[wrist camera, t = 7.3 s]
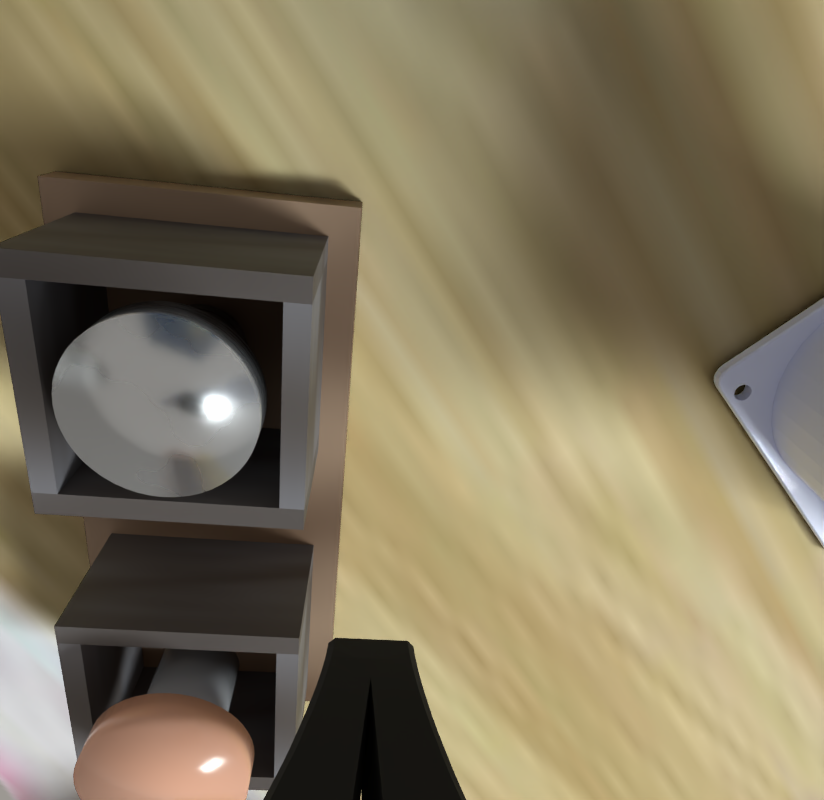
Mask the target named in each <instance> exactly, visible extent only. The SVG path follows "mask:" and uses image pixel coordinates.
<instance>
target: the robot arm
mask: <svg viewBox="0 0 824 800" xmlns="http://www.w3.org/2000/svg"><path fill="white" fill-rule="evenodd" d="M714 383H715V386H716V388H717V389H718V391H719V392H720V394H721V395H722V397H723V398H724V400H725V401H726V403H727V404H728V406H729V407H730V409H731V410H732V412H733V413H734V415H735V416H736V418H737V419H738V421H739V422H740V424H741V425H742V427H743V428H744V429H745V431H746V432H747V434H748V435H749V437H750V438H751V440H752V441H753V443H754V444H755V446H756V447H757V449H758V450H759V452H760V453H761V455H762V456H763V458H764V459H765V461H766V462H767V464H768V465H769V467H770V468H771V470H772V471H773V473H774V474H775V476H776V477H777V479H778V480H779V482H780V483H781V485H782V486H783V488H784V489H785V491H786V492H787V494H788V495H789V497H790V498H791V500H792V501H793V503H794V504H795V506H796V507H797V509H798V510H799V512H800V513H801V515H802V516H803V518H804V519H805V521H806V522H807V524H808V525H809V527H810V528H811V530H812V531H813V533H814V534H815V536H816V537H817V539H818V540H819V542H820V543H821V545H822V546H823V548H824V298H822V299H821V300H819V301H818V302H816V303H815V304H813V305H812V306H810V307H809V308H807V309H806V310H804V311H803V312H801V313H800V314H798V315H797V316H795V317H794V318H792V319H791V320H789V321H788V322H786V323H785V324H783V325H782V326H780V327H779V328H777V329H776V330H774V331H773V332H771V333H770V334H768V335H767V336H765V337H764V338H762V339H761V340H759V341H758V342H756V343H755V344H753V345H752V346H750V347H749V348H747V349H746V350H744V351H743V352H741V353H740V354H738V355H737V356H735V357H734V358H732V359H731V360H729V361H728V362H726V363H725V364H723V365H722V366H721V367H720V368H719V369H718V370H717V371H716V373H715V375H714ZM742 385H745V388H744V390H743V391H742V392H741V393H740V394H738V395H734V393H735V390H736V389H737V388H738V387H739V386H742ZM361 790H362V800H466V798H465V796H464V794H463V792H462V790H461V787H460V785H459V783H458V780H457V778H456V776H455V773H454V771H453V769H452V766H451V764H450V761H449V759H448V756H447V754H446V751H445V749H444V746H443V744H442V741H441V739H440V736H439V734H438V731H437V728H436V726H435V723H434V720H433V717H432V714H431V711H430V708H429V705H428V702H427V699H426V696H425V693H424V690H423V686H422V683H421V679H420V676H419V672H418V668H417V663H416V659H415V654H414V648H413V646H412V645H411V644H410V643H409V642H408V641H394V640H371V639H348V638H335V639H333V640H332V641H330V642H329V643H328V647H327V652H326V657H325V660H324V664H323V667H322V670H321V674H320V677H319V680H318V682H317V685H316V688H315V691H314V693H313V696H312V698H311V701H310V703H309V706H308V708H307V711H306V713H305V715H304V718H303V720H302V722H301V724H300V727H299V729H298V731H297V733H296V735H295V738H294V740H293V742H292V744H291V747H290V749H289V751H288V753H287V755H286V757H285V759H284V761H283V763H282V765H281V767H280V769H279V771H278V773H277V775H276V777H275V779H274V781H273V782H272V784H271V786H270V788H269V790H268V792H267V794H266V796H265V798H264V800H360V796H361Z"/></svg>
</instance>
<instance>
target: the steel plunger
mask: <svg viewBox="0 0 824 800" xmlns="http://www.w3.org/2000/svg"><path fill="white" fill-rule="evenodd" d="M52 405H53V409H54V414H55V418H56V420H57V423H58V426H59V428H60V430H61V432H62V434H63V436H64V438H65V440H66V441H67V443H68V444H69V445H70V447H71V448H72V450H73V451H74V452H75V453H76V454H77V455H78V457H79V458H80V459H81V460H82V461H83V462H84V463H85V464H86V465H88V466H89V467H90V468H91V469H92V470H94V471H95V472H96V473H98V474H99V475H100V476H102V477H104V478H105V479H107V480H109V481H110V482H112V483H114V484H116V485H119V486H121V487H123V488H125V489H128V490H131V491H134V492H137V493H141V494H146V495H150V496H158V497H184V496H191V495H195V494H200V493H203V492H206V491H209V490H212V489H214V488H216V487H218V486H220V485H222V484H223V483H225V482H226V481H228V480H229V479H231V478H232V477H233V476H234V475H235V474H236V473H237V472H239V471H240V470H241V468H242V467H243V466H244V465H245V463H246V462H247V461H248V459H249V457H250V456H251V454H252V452H253V450H254V447H255V445H256V443H257V440H258V437H259V434H260V431H261V429H262V426H263V423H264V420H265V416H266V411H267V388H266V383H265V378H264V375H263V372H262V370H261V367H260V365H259V363H258V361H257V359H256V357H255V355H254V354H253V352H252V351H251V349H250V348H249V346H248V343H247V339H246V336H245V334H244V332H243V330H242V328H241V327H240V325H239V324H238V323H237V321H236V320H235V319H234V318H233V317H231V316H230V315H229V314H228V313H226V312H225V311H223V310H221V309H219V308H216V307H214V306H210V305H205V304H190V305H184V304H181V303H175V302H168V301H145V302H137V303H133V304H129V305H125V306H123V307H120V308H118V309H115V310H113V311H111V312H110V313H108V314H106V315H104V316H103V317H102V318H101V319H99V320H98V321H97V322H95V323H94V324H93V325H92V326H91V327H89V328H88V329H87V330H86V331H84V332H83V333H82V334H81V335H80V336H78V337H77V338H76V339H75V340H74V341H73V342H72V343H71V344H70V345H69V346H68V347H67V349H66V350H65V352H64V353H63V355H62V356H61V358H60V360H59V362H58V365H57V367H56V369H55V373H54V377H53V382H52Z"/></svg>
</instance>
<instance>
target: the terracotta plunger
mask: <svg viewBox="0 0 824 800" xmlns="http://www.w3.org/2000/svg"><path fill="white" fill-rule="evenodd" d="M238 672H239V659H238V656H237V654H236V653H235V652H231V651H210V650H188V649H167V648H165V650H164V651H163V654H162V656H161V659H160V662H159V664H158V667H157V669H156V672H155V674H154V677H153V679H152V682H151V685H150V687H149V690H148V692H147V694H145V695H140V696H135V697H132V698H129V699H125V700H123V701H121V702H119V703H116V704H115V705H113V706H112V707H110V708H108V709H107V710H106V711H105V712H104V713H102V714H101V715H100V717H99V718H98V719H97V720H96V722H95V723H94V725H93V727H92V729H91V731H90V734H89V736H88V738H87V740H86V742H85V744H84V747H83V749H82V751H81V753H80V755H79V758H78V760H77V762H76V765H75V768H74V774H73V778H74V785H75V789H76V791H77V793H78V795H79V797H80V799H81V800H246V797H247V793H248V788H249V783H250V777H251V772H252V767H253V762H254V754H255V753H254V745H253V742H252V739H251V737H250V735H249V733H248V731H247V730H246V728H245V727H244V725H243V724H242V723H241V722H240V721H239V720H238V719H237V718H236V717H234V716H233V715H232V714H231V713H229V712H228V711H229V707H230V703H231V699H232V695H233V691H234V687H235V683H236V679H237V675H238Z"/></svg>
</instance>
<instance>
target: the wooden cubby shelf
mask: <svg viewBox="0 0 824 800" xmlns="http://www.w3.org/2000/svg"><path fill="white" fill-rule="evenodd" d="M38 183H39V190H40V198H41V205H42V212H43V220H44V225H42V226H40V227H37V228H35V229H33V230H30V231H28V232H25V233H23V234H20V235H18V236H15V237H13V238H10V239H8V240H6V241H3V242H1V243H0V314H1V320H2V326H3V332H4V338H5V344H6V349H7V355H8V361H9V367H10V373H11V378H12V384H13V390H14V396H15V402H16V407H17V413H18V419H19V425H20V431H21V436H22V442H23V448H24V454H25V460H26V465H27V471H28V477H29V483H30V489H31V495H32V500H33V506H34V512H35V514H50V515H66V516H83V518H84V525H85V532H86V540H87V547H88V555H89V562H90V569H89V571H88V572H87V574H86V575H85V577H84V579H83V580H82V582H81V584H80V585H79V587H78V588H77V590H76V592H75V593H74V595H73V597H72V598H71V600H70V602H69V603H68V605H67V606H66V608H65V610H64V611H63V613H62V615H61V616H60V618H59V620H58V621H57V623H56V624H55V626H54V628H55V634H56V640H57V646H58V651H59V657H60V663H61V669H62V675H63V680H64V686H65V692H66V698H67V704H68V709H69V715H70V721H71V727H72V733H73V738H74V744H75V750H76V756H77V760H78V758H79V755H80V753H81V751H82V749H83V747H84V744H85V742H86V740H87V738H88V736H89V734H90V731H91V729H92V727H93V725H94V723H95V722H96V720H97V719H98V718H99V717H100V715H101V714H102V713H104V712H105V711H106V710H107V709H108V708H110V707H112V706H113V705H115V704H116V703H119V702H121V701H123V700H125V699H129V698H132V697H135V696H140V695H145V694H147V692H148V690H149V687H150V685H151V682H152V679H153V677H154V674H155V672H156V669H157V667H158V664H159V662H160V659H161V656H162V654H163V651H164V650H165V648H167V649H188V650H210V651H231V652H235V653H236V654H237V656H238V659H239V672H238V675H237V679H236V683H235V687H234V691H233V695H232V699H231V703H230V707H229V711H228V712H229V713H231V714H232V715H233V716H234V717H236V718H237V719H238V720H239V721H240V722H241V723H242V724H243V725H244V727H245V728H246V730H247V731H248V733H249V735H250V737H251V739H252V742H253V745H254V753H255V754H254V762H253V767H252V772H251V777H250V783H249V788H248V790H269V788H270V786H271V784H272V782H273V781H274V779H275V777H276V775H277V773H278V771H279V769H280V767H281V765H282V763H283V761H284V759H285V757H286V755H287V753H288V751H289V749H290V747H291V744H292V742H293V740H294V738H295V735H296V733H297V731H298V729H299V727H300V724H301V722H302V720H303V712H304V705H305V701H311V698H312V696H313V693H314V691H315V688H316V685H317V682H318V680H319V677H320V674H321V670H322V667H323V664H324V660H325V657H326V652H327V647H328V643H329V642H330V641H332V640H333V627H334V613H335V598H336V583H337V569H338V554H339V539H340V525H341V510H342V495H343V481H344V466H345V452H346V437H347V422H348V408H349V393H350V378H351V364H352V349H353V334H354V320H355V305H356V291H357V276H358V261H359V247H360V232H361V217H362V203H363V202H359V201H349V200H339V199H329V198H319V197H309V196H299V195H289V194H279V193H269V192H259V191H248V190H238V189H228V188H218V187H208V186H198V185H188V184H178V183H168V182H158V181H148V180H138V179H128V178H118V177H108V176H98V175H88V174H78V173H68V172H58V171H55V172H51V173H47V174H43V175H40V176H38ZM145 301H168V302H175V303H181V304H184V305H190V304H205V305H210V306H214V307H216V308H219V309H221V310H223V311H225V312H226V313H228V314H229V315H230V316H231V317H233V318H234V319H235V320H236V321H237V323H238V324H239V325H240V327H241V328H242V330H243V332H244V334H245V336H246V339H247V343H248V346H249V348H250V349H251V351H252V352H253V354H254V355H255V357H256V359H257V361H258V363H259V365H260V367H261V370H262V372H263V375H264V378H265V383H266V388H267V411H266V416H265V420H264V423H263V426H262V429H261V431H260V434H259V437H258V440H257V443H256V445H255V447H254V450H253V452H252V454H251V456H250V457H249V459H248V461H247V462H246V463H245V465H244V466H243V467H242V468H241V470H240V471H239V472H237V473H236V474H235V475H234V476H233V477H232V478H231V479H229V480H228V481H226V482H225V483H223V484H222V485H220V486H218V487H216V488H214V489H212V490H209V491H206V492H203V493H200V494H195V495H191V496H184V497H158V496H150V495H146V494H141V493H137V492H134V491H131V490H128V489H125V488H123V487H121V486H119V485H116V484H114V483H112V482H110V481H109V480H107V479H105V478H104V477H102V476H100V475H99V474H98V473H96V472H95V471H94V470H92V469H91V468H90V467H89V466H88V465H86V464H85V463H84V462H83V461H82V460H81V459H80V458H79V457H78V455H77V454H76V453H75V452H74V451H73V450H72V448H71V447H70V445H69V444H68V443H67V441H66V440H65V438H64V436H63V434H62V432H61V430H60V428H59V426H58V423H57V420H56V418H55V414H54V409H53V405H52V382H53V377H54V373H55V369H56V367H57V365H58V362H59V360H60V358H61V356H62V355H63V353H64V352H65V350H66V349H67V347H68V346H69V345H70V344H71V343H72V342H73V341H74V340H75V339H76V338H77V337H78V336H80V335H81V334H82V333H83V332H84V331H86V330H87V329H88V328H89V327H91V326H92V325H93V324H94V323H95V322H97V321H98V320H99V319H101V318H102V317H103V316H104V315H106V314H108V313H110V312H111V311H113V310H115V309H118V308H120V307H123V306H125V305H129V304H133V303H137V302H145Z"/></svg>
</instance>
